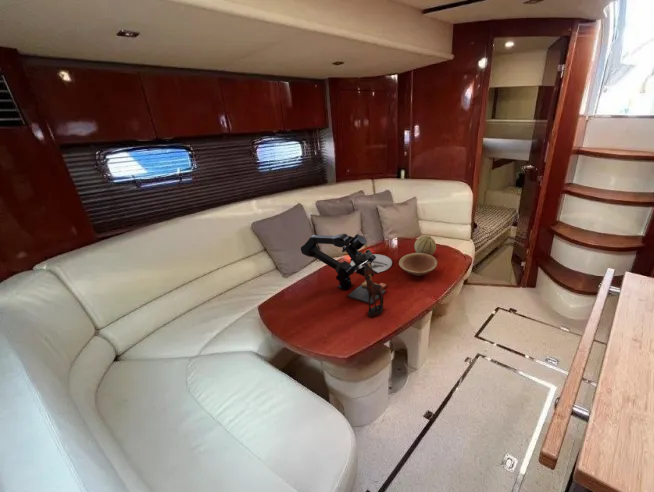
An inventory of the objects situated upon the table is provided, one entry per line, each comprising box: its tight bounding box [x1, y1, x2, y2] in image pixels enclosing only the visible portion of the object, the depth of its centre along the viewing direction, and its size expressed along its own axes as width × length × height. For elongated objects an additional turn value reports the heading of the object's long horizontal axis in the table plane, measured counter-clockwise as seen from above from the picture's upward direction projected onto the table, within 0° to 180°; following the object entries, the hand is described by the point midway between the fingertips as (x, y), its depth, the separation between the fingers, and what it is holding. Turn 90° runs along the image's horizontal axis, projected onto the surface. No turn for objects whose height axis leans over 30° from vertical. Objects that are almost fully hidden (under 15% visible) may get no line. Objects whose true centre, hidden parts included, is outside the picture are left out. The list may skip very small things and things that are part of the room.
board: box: [347, 283, 386, 306], centre depth 169 cm, size 16×14×1 cm
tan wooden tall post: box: [361, 263, 379, 289], centre depth 164 cm, size 8×4×15 cm, turn 60°
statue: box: [364, 262, 384, 318], centre depth 147 cm, size 12×7×30 cm, turn 139°
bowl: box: [398, 252, 438, 277], centre depth 189 cm, size 24×24×8 cm
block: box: [377, 282, 388, 289], centre depth 176 cm, size 4×4×1 cm
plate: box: [349, 253, 393, 274], centre depth 202 cm, size 28×28×1 cm
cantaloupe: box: [413, 235, 437, 256], centre depth 207 cm, size 15×15×15 cm
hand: (371, 277), depth 163 cm, fingers closed on tan wooden tall post, 3 cm apart
